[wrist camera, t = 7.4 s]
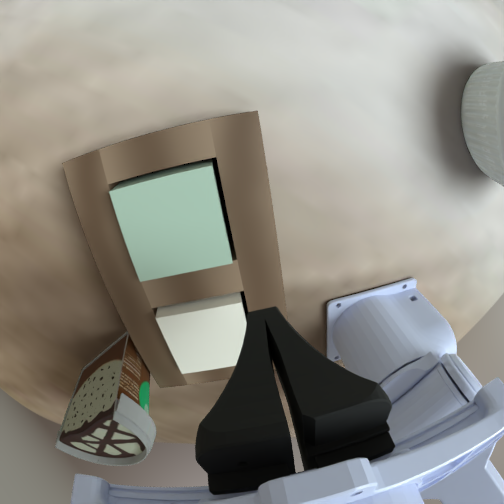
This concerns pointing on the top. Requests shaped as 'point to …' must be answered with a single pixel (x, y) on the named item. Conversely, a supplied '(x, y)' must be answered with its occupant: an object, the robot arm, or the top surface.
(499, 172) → the ramekin
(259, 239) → the key console
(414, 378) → the robot arm
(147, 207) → the sage key
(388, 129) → the top surface
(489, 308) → the top surface
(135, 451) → the food container
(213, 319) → the cream key
